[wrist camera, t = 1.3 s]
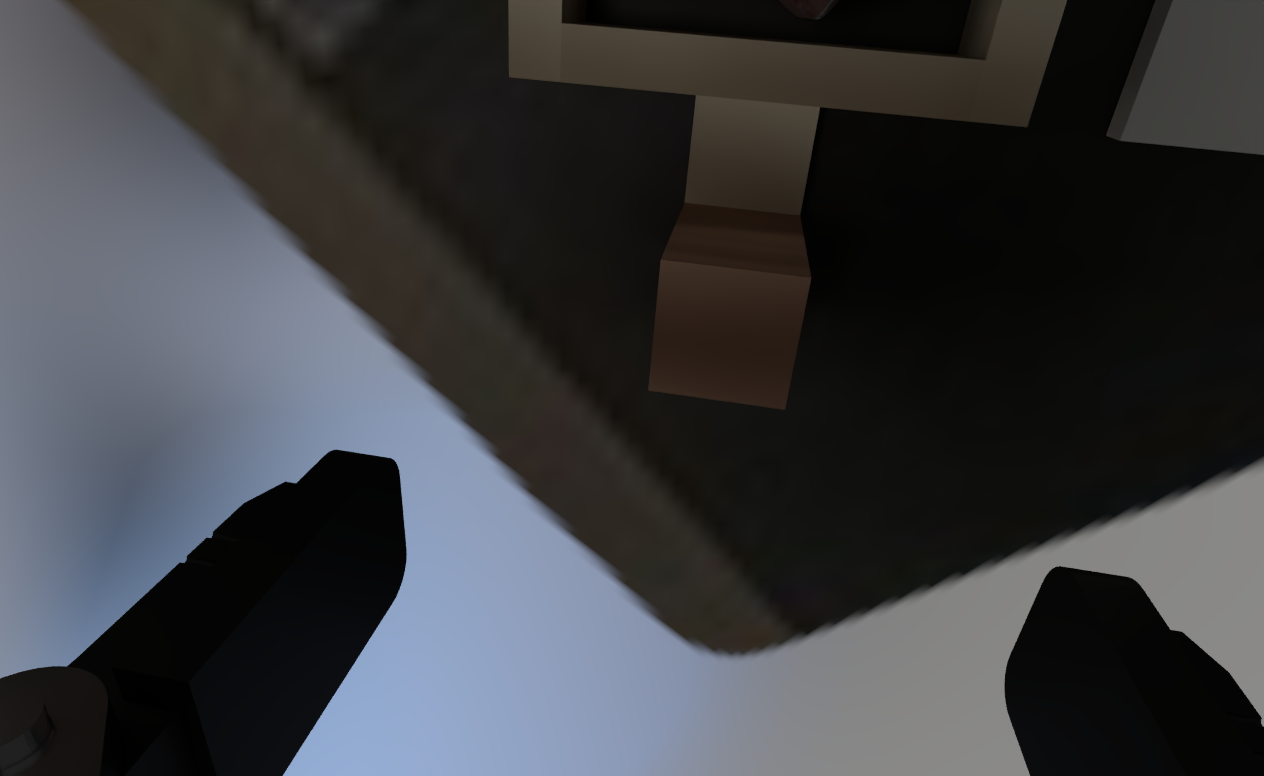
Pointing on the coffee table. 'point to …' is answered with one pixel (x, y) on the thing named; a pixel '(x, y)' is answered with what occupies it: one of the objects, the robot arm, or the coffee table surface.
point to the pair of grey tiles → (1197, 78)
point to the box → (808, 7)
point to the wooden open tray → (768, 159)
